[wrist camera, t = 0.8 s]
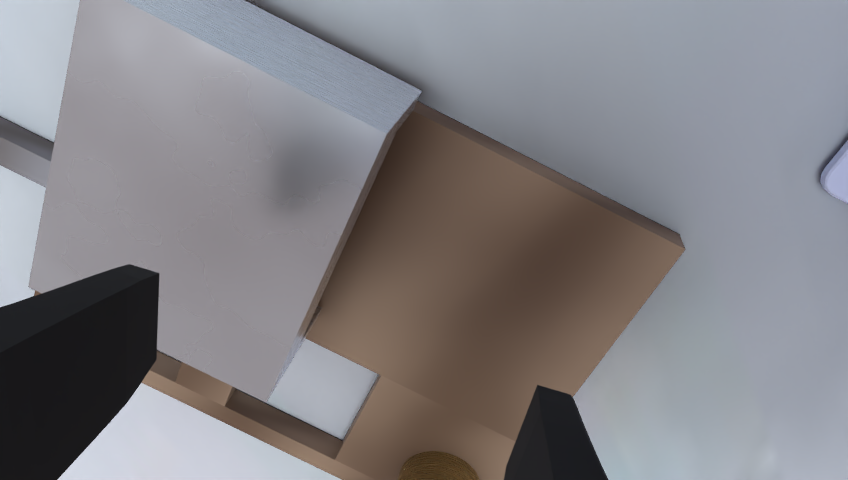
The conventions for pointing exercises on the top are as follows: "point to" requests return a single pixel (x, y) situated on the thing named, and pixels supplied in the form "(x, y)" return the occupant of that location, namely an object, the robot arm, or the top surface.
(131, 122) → the housing
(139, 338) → the robot arm
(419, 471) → the pin
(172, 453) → the top surface
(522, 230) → the board
